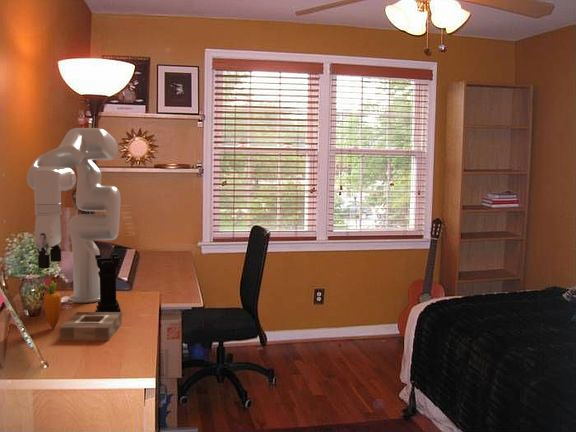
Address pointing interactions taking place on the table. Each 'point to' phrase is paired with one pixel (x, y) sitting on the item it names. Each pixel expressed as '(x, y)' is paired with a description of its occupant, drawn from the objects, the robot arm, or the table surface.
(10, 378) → the table surface
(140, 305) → the table surface
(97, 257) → the chess piece
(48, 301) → the carrot
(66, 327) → the seat block
